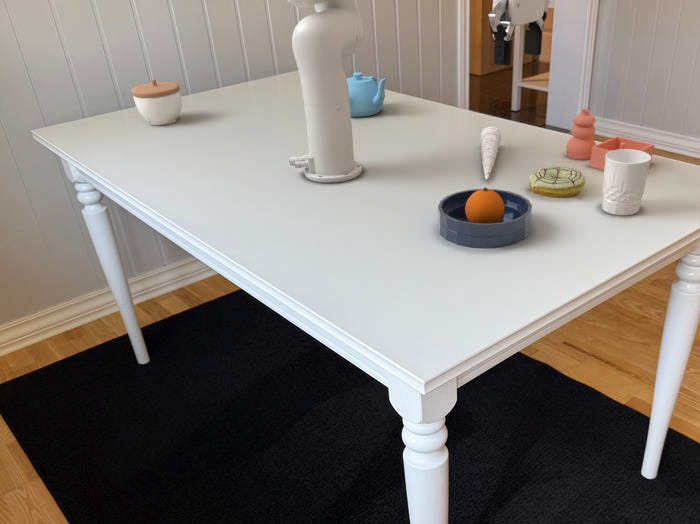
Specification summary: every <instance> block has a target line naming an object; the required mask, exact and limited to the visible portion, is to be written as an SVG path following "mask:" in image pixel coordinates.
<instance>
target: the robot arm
mask: <svg viewBox="0 0 700 524" xmlns="http://www.w3.org/2000/svg"><path fill="white" fill-rule="evenodd" d="M286 1H287V2H288V4H290V5H291V6H293V7H295V8H308V7H312V6H313V7H314V9H315V12H313V13H311V14H309V15H306V16H305V17H303V18H302V19H300V21H299V22H298V23H297V24H296V25H295V27H294V29H293V32H292V36H291V37H292V38H291V48H292V53H293V56H294V59H295V60H294V61H295V63H296V66H297V70H298V75H299V80H300V87H301V93H302V101H303V102H302V103H303V109H304V118H305V125H306V136H307V144H308V151H307V153H306V154H303V155H302V156H298V155H296V156H289V157H288V158H289V159H288V160H289V166H290V167H292V166H293V167H294V168H295V169H301V168H304V170H303V172H304V176H305V178H307V179H308V180H310V181H312V182H313V181H314V182H317V183H340V182H346V181H349V180H352V179H355V178H357V177H358V176H360V175H361V174H362V172H363V166H362V164H361V163H360V162H359V161H357V160H355V152H354V140H353V125H352V117H351V112H350V99H349V89H348V82H347V78H348V77H347V75H346V72H345V69H344V67H343V64H342V60H343V59H346V58H348V57H351V56H352V55H354V54H355V53H357V52H358V50H360V48H361V46H362V44H363V42H364V24H363V20H362V16H361V12H360V8H359V5H358V2H357V0H286ZM549 7H550V0H492V9H491V11H490V12H489V13H488V21H489V25H490V32H491V33H492V39H493V40H494V51H493V63H494V64H495V65H497V66H505V67H508V66H511V65H512V56H513V55H512V54H513V53H512V52H513V40H512V39H511V37H512V34H513V33H514V30H515V27H520V26H524V25H526V27H527V29H525V31H524V33H525V34H524V51H523V52H524V54H525V55H531V56H540V55H541V53H542V44H543V31H544V30H545V21H546V19H547V17H548V10H549ZM505 28H506V29H505Z"/></svg>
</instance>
